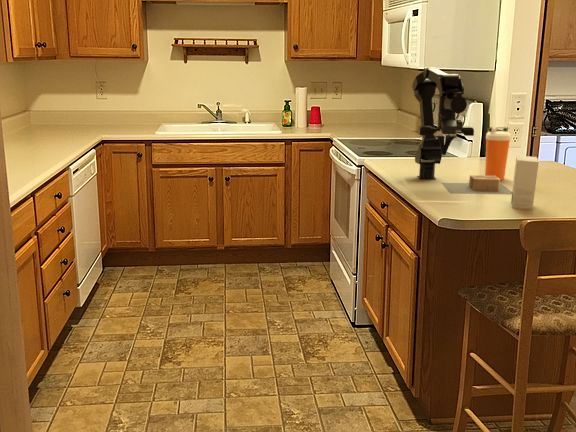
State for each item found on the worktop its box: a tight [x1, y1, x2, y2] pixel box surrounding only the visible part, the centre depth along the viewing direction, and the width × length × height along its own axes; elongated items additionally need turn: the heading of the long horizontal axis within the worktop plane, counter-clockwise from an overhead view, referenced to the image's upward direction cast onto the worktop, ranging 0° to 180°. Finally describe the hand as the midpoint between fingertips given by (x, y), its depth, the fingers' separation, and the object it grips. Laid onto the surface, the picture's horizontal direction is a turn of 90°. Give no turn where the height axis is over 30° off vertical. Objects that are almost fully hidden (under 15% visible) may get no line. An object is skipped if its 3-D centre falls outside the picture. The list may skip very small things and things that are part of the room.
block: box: [468, 174, 501, 191], centre depth 229 cm, size 7×4×9 cm
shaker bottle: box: [484, 126, 512, 181], centre depth 245 cm, size 9×9×20 cm
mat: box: [441, 182, 512, 195], centre depth 230 cm, size 18×22×1 cm
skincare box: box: [510, 155, 539, 211], centre depth 204 cm, size 8×7×16 cm
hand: (443, 154), depth 229 cm, fingers closed
